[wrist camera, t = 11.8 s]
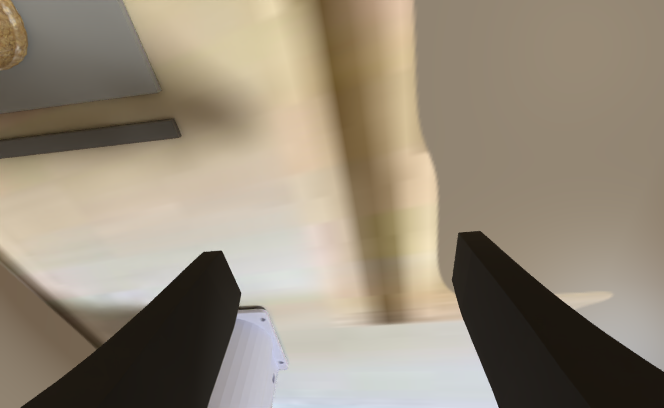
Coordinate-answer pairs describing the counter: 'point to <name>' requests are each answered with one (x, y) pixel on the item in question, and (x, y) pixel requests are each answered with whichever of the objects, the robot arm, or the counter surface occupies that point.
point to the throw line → (89, 138)
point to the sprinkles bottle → (11, 36)
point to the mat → (76, 56)
